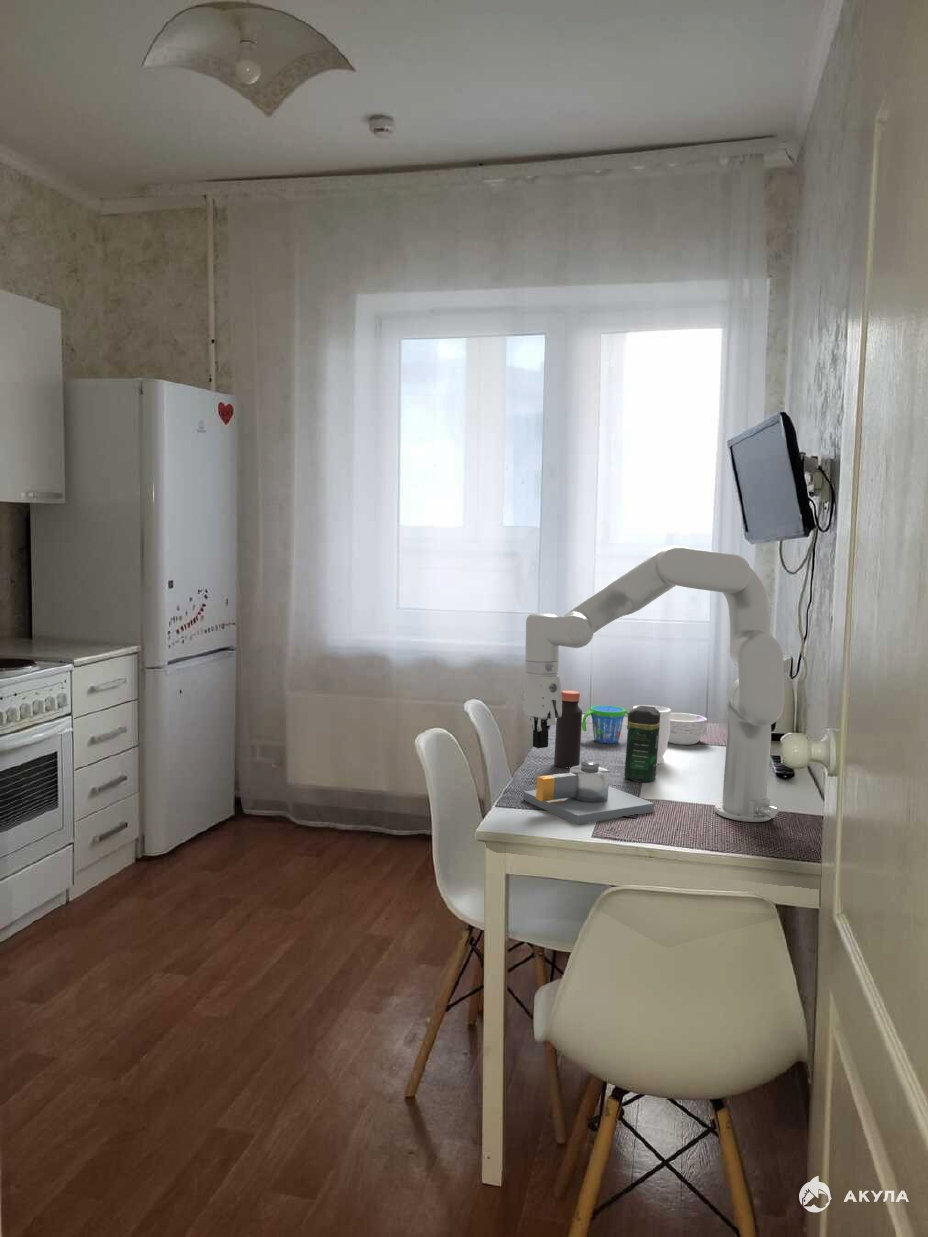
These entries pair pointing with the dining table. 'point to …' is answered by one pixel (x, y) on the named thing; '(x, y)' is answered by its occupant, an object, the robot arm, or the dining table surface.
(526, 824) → the dining table surface
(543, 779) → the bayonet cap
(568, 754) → the bottle
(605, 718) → the snack cup
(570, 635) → the robot arm
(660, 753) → the white cup
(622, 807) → the mounting board
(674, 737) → the white round hollow piece
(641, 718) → the coffee jar
